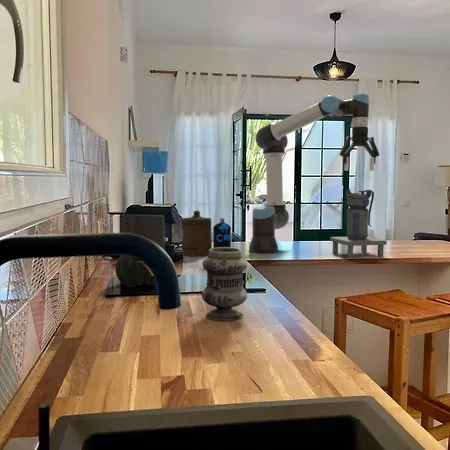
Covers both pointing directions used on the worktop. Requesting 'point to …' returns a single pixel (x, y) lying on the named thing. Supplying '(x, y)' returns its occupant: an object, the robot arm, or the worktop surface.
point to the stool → (358, 244)
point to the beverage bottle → (358, 214)
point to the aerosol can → (221, 234)
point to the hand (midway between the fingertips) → (359, 170)
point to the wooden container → (196, 235)
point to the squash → (132, 272)
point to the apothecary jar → (224, 283)
